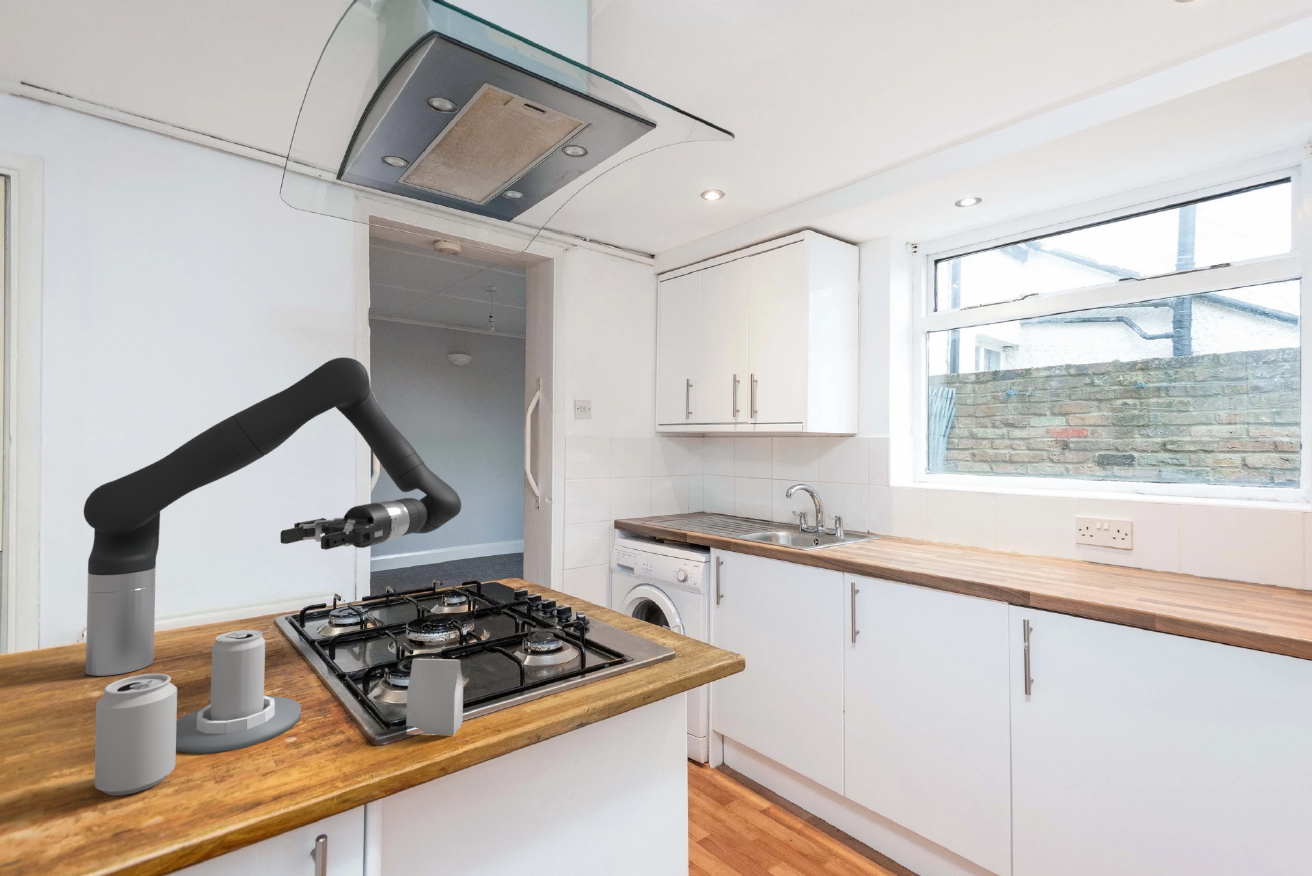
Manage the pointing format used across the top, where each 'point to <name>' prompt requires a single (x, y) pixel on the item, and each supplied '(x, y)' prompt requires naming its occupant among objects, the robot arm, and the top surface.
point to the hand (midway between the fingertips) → (302, 540)
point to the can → (135, 734)
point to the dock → (235, 727)
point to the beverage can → (237, 675)
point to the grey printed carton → (435, 696)
